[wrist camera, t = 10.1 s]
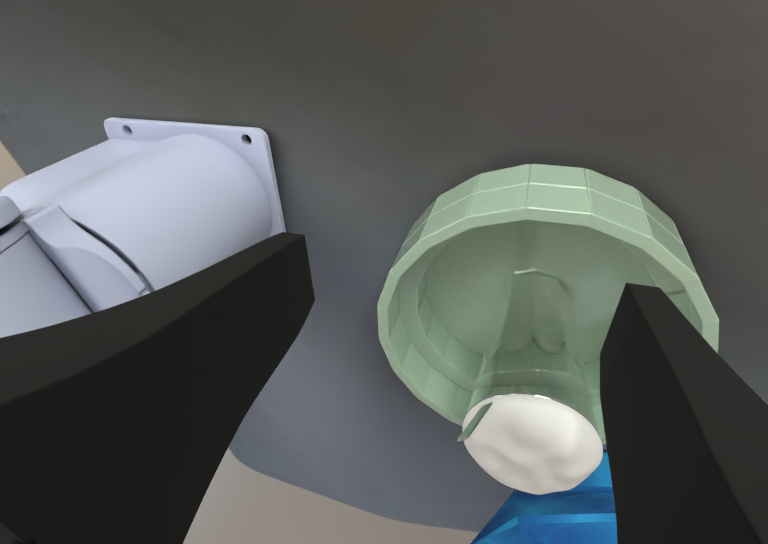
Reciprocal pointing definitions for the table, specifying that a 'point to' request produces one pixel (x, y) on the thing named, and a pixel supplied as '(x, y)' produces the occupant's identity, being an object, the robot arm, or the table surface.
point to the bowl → (525, 272)
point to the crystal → (558, 515)
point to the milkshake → (533, 393)
